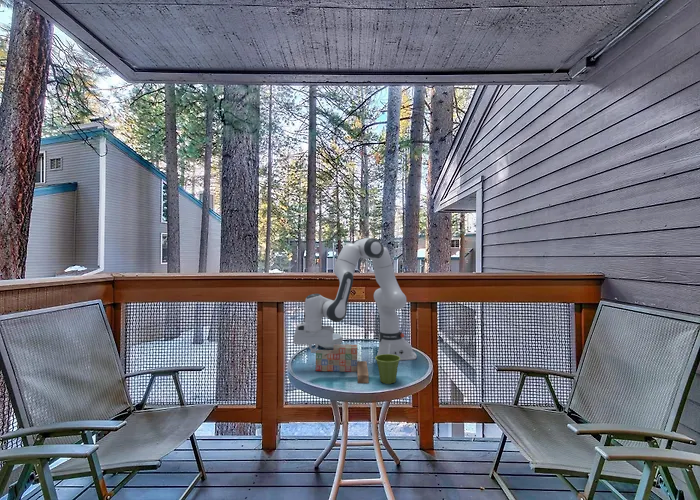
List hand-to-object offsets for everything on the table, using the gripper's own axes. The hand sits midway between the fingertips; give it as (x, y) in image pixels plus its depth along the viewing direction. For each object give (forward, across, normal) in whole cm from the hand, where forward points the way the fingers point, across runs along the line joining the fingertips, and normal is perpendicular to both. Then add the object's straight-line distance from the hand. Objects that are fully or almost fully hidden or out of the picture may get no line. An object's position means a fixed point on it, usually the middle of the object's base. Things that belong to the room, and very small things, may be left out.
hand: (313, 352), depth 183 cm
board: (+9, -25, +7) cm, 28 cm away
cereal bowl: (+9, -6, -41) cm, 42 cm away
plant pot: (+9, -37, +15) cm, 41 cm away
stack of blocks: (+9, -12, 0) cm, 15 cm away
